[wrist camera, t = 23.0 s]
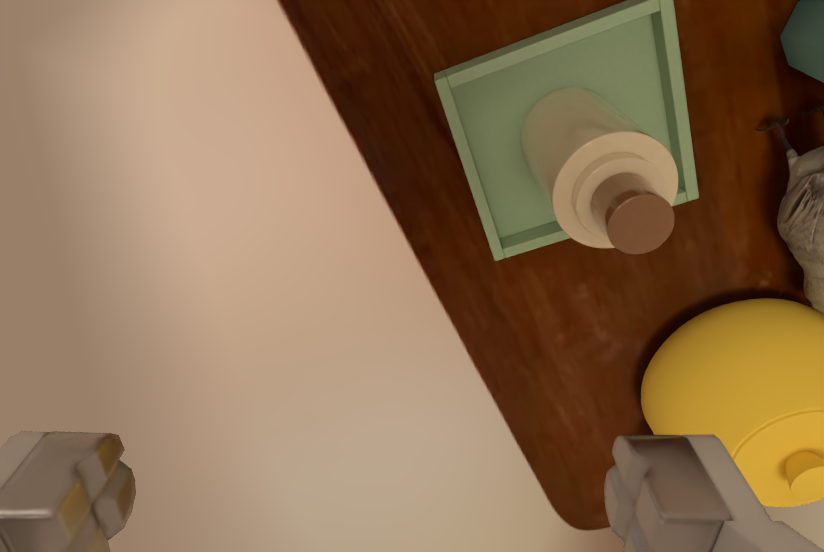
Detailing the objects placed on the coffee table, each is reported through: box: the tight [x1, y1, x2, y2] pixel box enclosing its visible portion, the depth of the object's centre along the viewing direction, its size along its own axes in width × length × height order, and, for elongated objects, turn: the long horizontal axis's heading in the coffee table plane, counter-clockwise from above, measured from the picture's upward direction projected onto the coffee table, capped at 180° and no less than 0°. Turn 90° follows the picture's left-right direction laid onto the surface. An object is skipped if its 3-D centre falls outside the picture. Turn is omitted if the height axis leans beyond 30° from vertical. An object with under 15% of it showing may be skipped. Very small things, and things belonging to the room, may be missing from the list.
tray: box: [434, 0, 699, 261], centre depth 38 cm, size 15×14×3 cm
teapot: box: [641, 298, 824, 507], centre depth 45 cm, size 20×19×13 cm
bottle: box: [521, 87, 678, 254], centre depth 32 cm, size 6×6×15 cm
